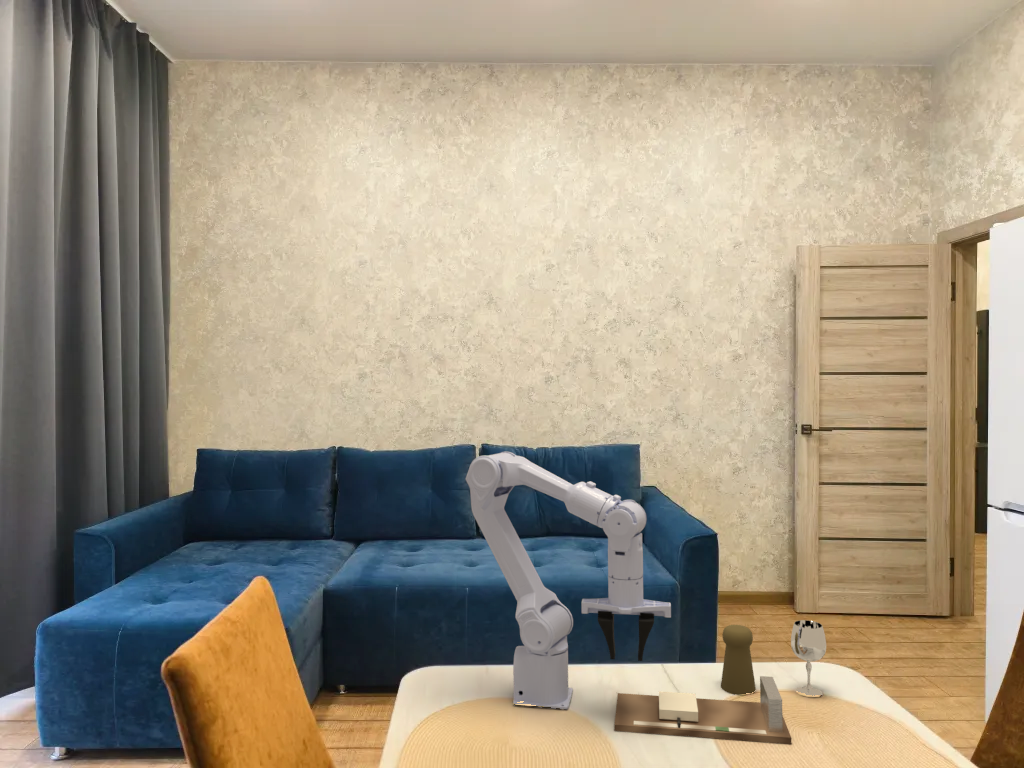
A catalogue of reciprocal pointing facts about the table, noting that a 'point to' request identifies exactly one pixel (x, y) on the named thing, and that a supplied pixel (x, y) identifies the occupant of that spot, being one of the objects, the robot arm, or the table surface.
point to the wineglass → (808, 648)
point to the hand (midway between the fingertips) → (626, 657)
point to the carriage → (678, 706)
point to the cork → (737, 661)
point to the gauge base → (712, 720)
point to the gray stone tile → (771, 704)
